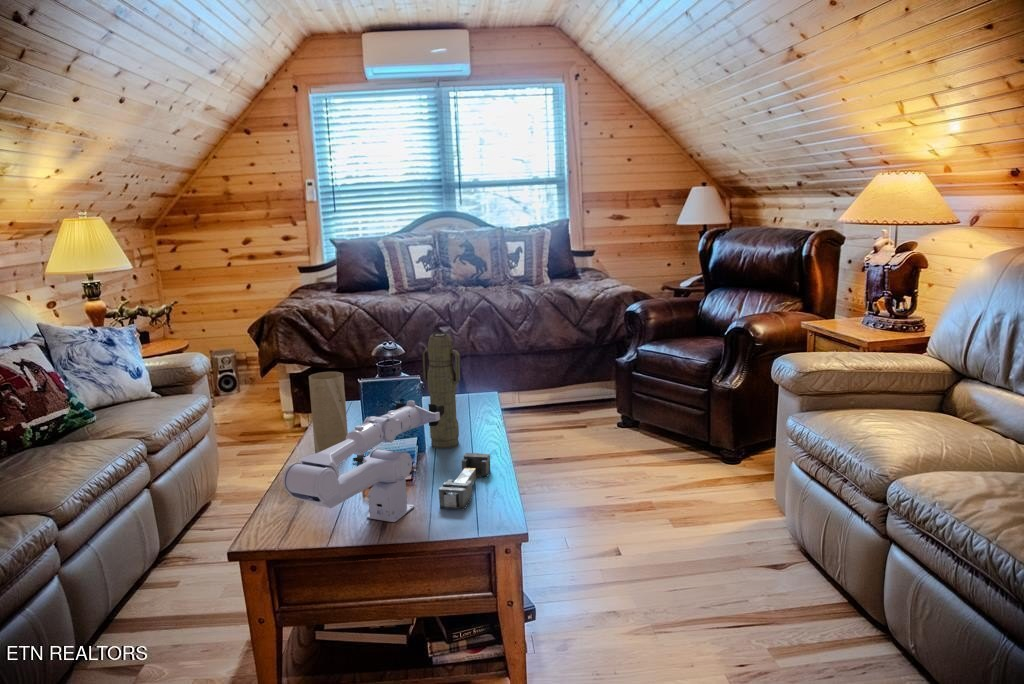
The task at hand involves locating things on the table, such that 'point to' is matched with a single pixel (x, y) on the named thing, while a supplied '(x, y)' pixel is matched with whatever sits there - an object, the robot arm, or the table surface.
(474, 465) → the socket
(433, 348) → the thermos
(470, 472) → the rod
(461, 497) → the sleeve
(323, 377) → the tube
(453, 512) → the table surface
